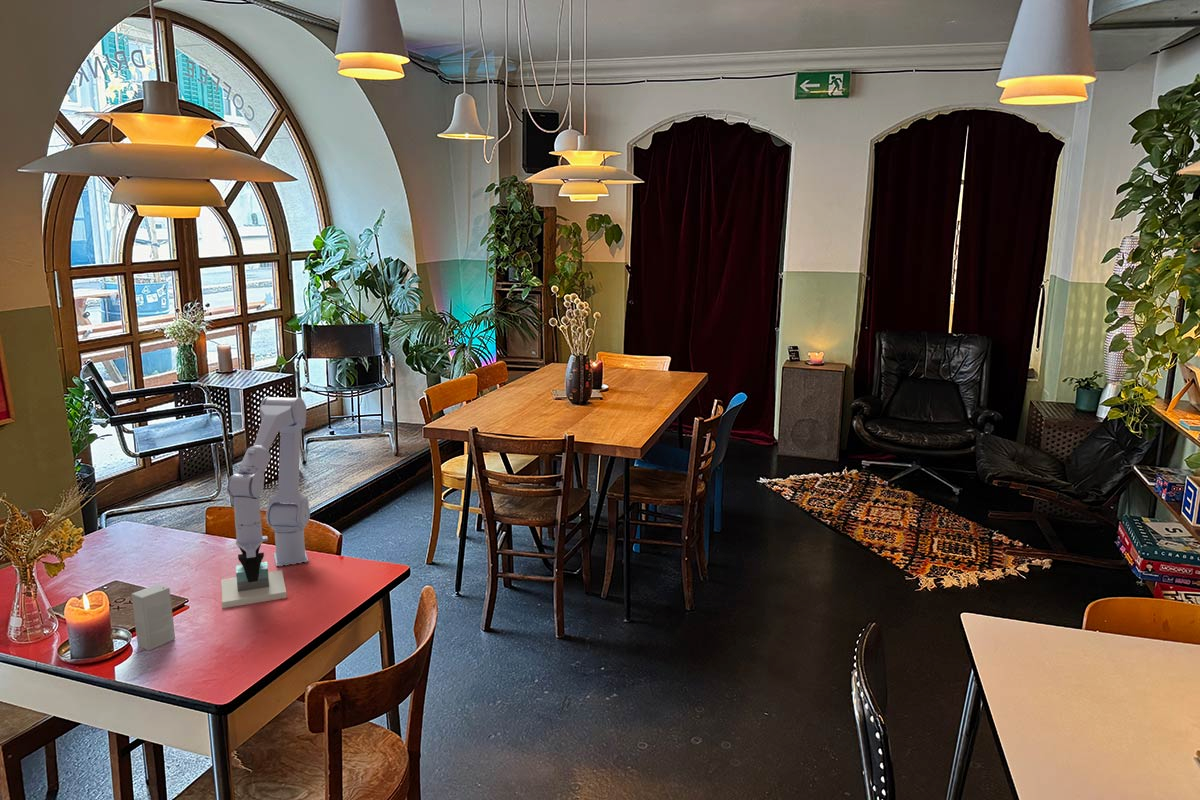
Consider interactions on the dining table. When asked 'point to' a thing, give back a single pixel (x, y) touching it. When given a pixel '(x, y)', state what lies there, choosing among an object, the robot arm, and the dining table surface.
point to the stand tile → (253, 591)
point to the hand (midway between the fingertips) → (252, 575)
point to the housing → (245, 585)
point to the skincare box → (153, 616)
